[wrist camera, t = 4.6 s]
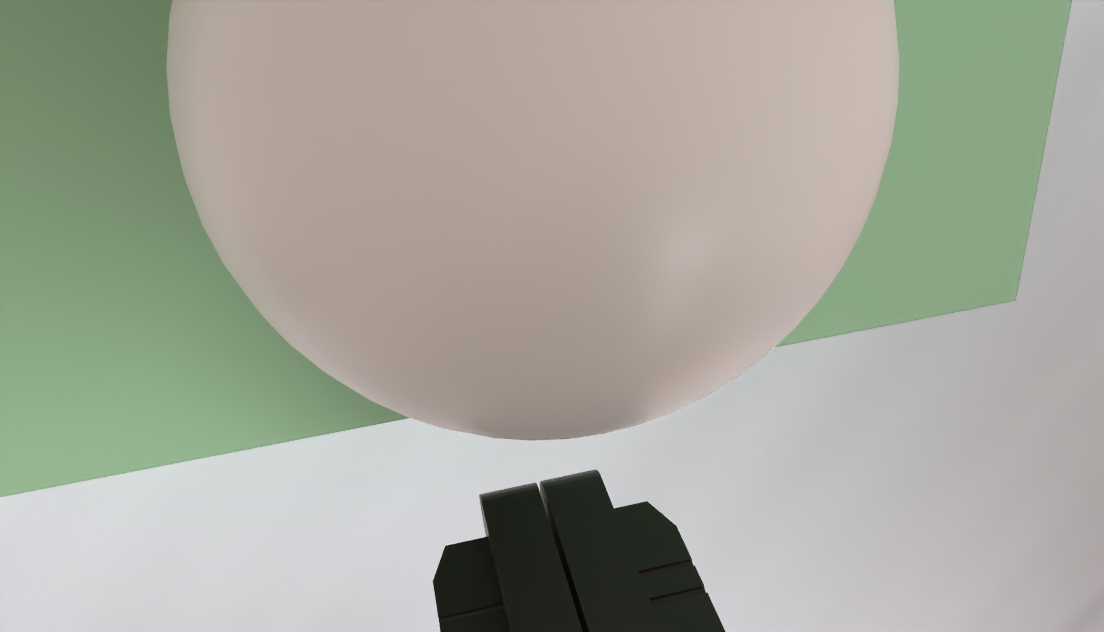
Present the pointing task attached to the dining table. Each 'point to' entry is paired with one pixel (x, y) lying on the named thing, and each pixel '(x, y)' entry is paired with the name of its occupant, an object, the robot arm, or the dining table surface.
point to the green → (293, 380)
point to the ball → (533, 189)
